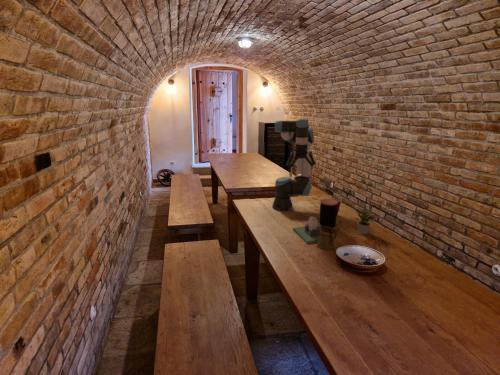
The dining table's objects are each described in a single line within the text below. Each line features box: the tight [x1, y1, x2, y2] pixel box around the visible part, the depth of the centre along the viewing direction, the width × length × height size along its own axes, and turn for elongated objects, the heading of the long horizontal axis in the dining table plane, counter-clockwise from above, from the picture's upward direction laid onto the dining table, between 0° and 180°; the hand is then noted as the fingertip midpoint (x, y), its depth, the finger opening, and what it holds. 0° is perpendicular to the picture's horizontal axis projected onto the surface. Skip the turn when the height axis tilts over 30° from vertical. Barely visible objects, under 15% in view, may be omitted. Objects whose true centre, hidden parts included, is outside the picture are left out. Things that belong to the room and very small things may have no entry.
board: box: [292, 222, 321, 245], centre depth 193 cm, size 20×16×6 cm
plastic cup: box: [328, 197, 343, 216], centre depth 223 cm, size 11×11×12 cm
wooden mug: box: [316, 220, 343, 250], centre depth 175 cm, size 9×14×18 cm, turn 44°
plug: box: [308, 216, 318, 232], centre depth 192 cm, size 5×3×10 cm, turn 17°
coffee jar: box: [318, 198, 338, 228], centre depth 202 cm, size 11×11×18 cm
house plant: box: [354, 207, 377, 235], centre depth 194 cm, size 14×14×16 cm
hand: (300, 176), depth 207 cm, fingers open, 13 cm apart
